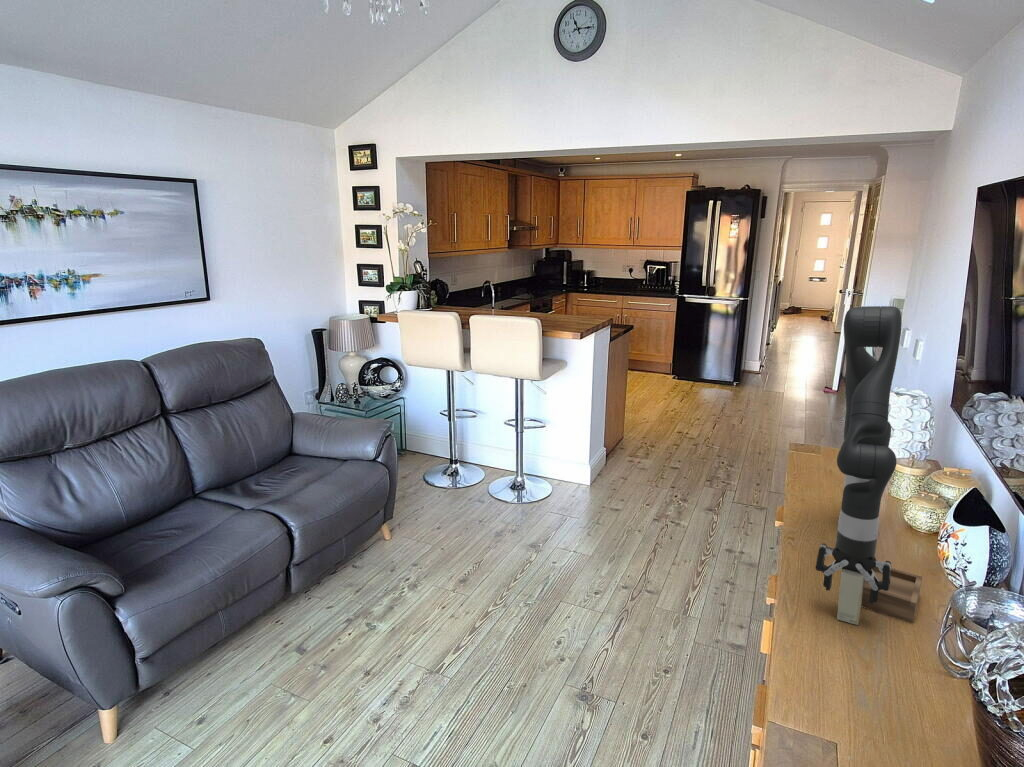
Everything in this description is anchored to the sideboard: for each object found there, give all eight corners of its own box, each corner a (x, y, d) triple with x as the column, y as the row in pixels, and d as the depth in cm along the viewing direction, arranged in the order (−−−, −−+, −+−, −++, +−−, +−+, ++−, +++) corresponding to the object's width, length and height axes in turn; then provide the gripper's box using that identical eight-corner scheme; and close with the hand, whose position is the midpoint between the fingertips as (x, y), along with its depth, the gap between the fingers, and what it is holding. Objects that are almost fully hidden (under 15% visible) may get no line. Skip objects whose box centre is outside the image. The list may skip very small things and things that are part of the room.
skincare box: (858, 626, 130) (864, 578, 126) (835, 619, 132) (840, 572, 129) (860, 610, 135) (866, 564, 131) (838, 604, 137) (844, 558, 134)
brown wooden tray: (860, 579, 146) (863, 560, 145) (918, 596, 139) (922, 576, 137) (851, 604, 137) (853, 584, 136) (912, 624, 130) (916, 603, 128)
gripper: (898, 533, 126) (888, 598, 130) (825, 515, 135) (818, 576, 139) (893, 548, 120) (883, 616, 125) (817, 528, 129) (810, 592, 133)
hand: (849, 595), depth 132 cm, fingers open, 8 cm apart
